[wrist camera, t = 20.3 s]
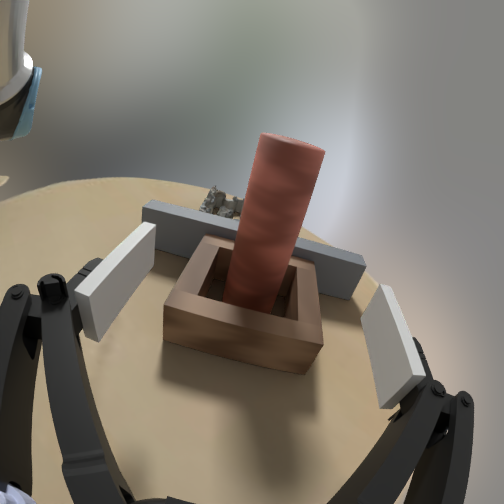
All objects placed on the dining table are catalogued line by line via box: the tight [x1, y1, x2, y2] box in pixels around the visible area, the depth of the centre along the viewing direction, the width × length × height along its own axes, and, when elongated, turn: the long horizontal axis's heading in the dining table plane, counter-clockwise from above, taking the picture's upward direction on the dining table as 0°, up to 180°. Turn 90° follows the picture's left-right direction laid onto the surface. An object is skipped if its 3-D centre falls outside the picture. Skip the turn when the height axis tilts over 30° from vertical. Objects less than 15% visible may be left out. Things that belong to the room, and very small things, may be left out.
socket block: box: [163, 233, 324, 375], centre depth 26 cm, size 12×12×4 cm
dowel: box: [222, 133, 325, 314], centre depth 24 cm, size 5×5×16 cm
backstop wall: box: [142, 200, 366, 300], centre depth 32 cm, size 26×2×5 cm, turn 83°
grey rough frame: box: [199, 186, 245, 221], centre depth 42 cm, size 11×8×4 cm
